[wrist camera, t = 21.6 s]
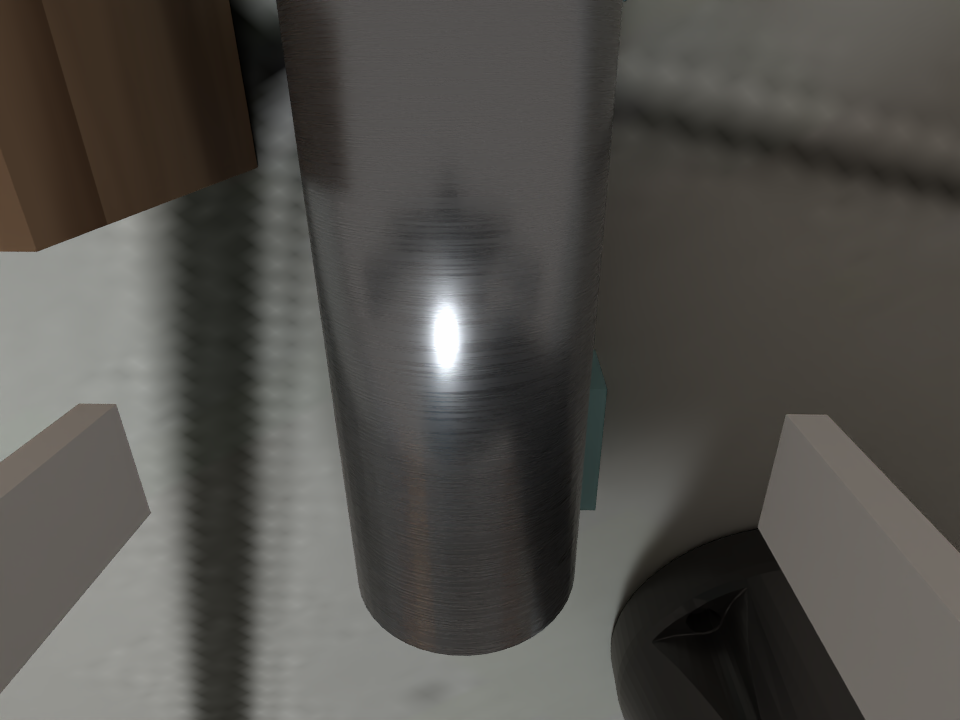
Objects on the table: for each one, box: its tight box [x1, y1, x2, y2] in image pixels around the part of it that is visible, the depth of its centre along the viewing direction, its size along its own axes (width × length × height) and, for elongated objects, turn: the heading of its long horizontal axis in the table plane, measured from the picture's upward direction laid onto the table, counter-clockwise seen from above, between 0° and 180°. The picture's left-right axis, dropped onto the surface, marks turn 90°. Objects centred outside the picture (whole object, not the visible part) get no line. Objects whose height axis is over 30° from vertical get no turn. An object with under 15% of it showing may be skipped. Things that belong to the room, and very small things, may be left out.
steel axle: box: [276, 0, 623, 656], centre depth 14 cm, size 24×7×7 cm, turn 1°
